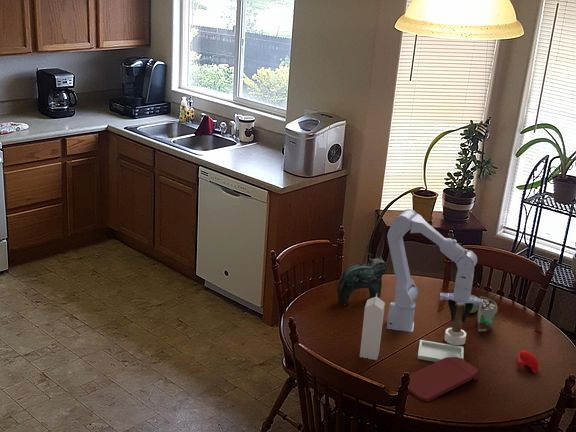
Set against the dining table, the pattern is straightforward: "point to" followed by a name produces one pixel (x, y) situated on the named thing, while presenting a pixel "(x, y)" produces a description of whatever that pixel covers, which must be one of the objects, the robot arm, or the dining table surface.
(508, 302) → the dining table surface
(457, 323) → the dowel
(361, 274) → the ceramic cat
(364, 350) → the milk
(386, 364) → the dining table surface
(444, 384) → the dark red slab
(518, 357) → the red helmet
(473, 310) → the ramekin
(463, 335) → the cup
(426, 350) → the tray
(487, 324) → the food container
